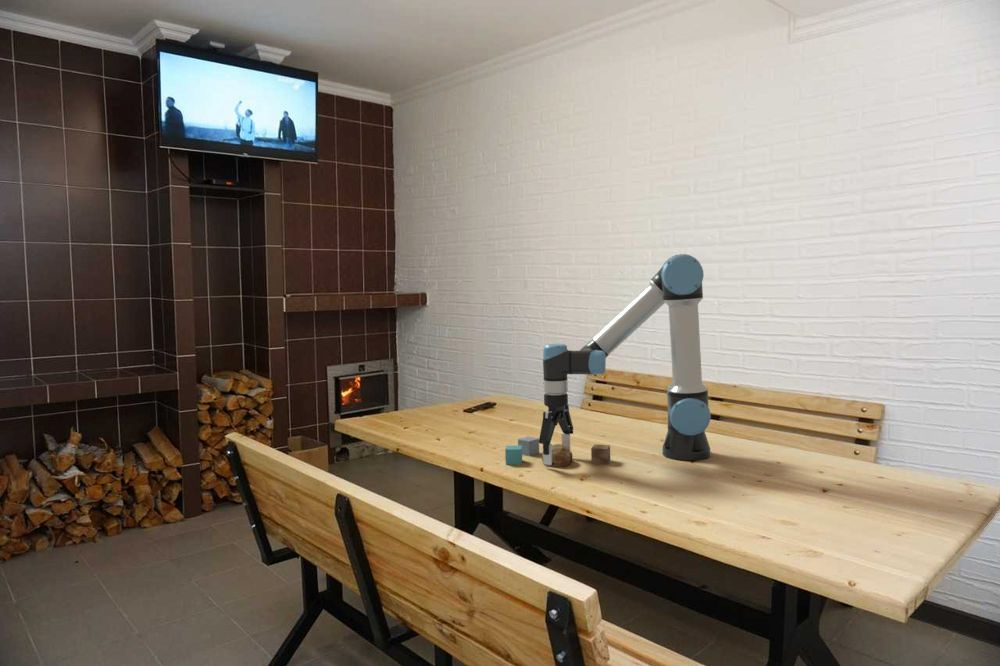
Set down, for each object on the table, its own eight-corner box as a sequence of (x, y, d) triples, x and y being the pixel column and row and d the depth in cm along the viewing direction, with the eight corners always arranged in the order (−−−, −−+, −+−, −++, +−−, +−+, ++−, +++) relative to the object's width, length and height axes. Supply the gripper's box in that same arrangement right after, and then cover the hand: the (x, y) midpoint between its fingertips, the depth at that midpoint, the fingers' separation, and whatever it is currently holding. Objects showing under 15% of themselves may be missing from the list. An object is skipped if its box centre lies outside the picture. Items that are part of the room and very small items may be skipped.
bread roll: (539, 475, 224) (534, 455, 221) (550, 454, 232) (546, 435, 228) (568, 478, 220) (563, 458, 216) (579, 457, 227) (574, 437, 224)
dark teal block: (522, 460, 229) (521, 445, 228) (521, 464, 224) (520, 449, 223) (507, 460, 229) (506, 445, 229) (505, 464, 224) (505, 449, 224)
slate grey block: (539, 453, 237) (538, 438, 237) (529, 456, 234) (528, 441, 233) (528, 450, 241) (528, 436, 240) (518, 453, 237) (517, 439, 237)
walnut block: (610, 460, 226) (610, 445, 225) (607, 464, 221) (606, 449, 221) (595, 459, 228) (594, 444, 227) (591, 463, 223) (591, 448, 222)
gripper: (561, 386, 235) (563, 448, 237) (526, 399, 213) (528, 467, 215) (582, 387, 231) (583, 450, 233) (548, 400, 210) (550, 470, 212)
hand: (557, 459), depth 224 cm, fingers open, 13 cm apart
